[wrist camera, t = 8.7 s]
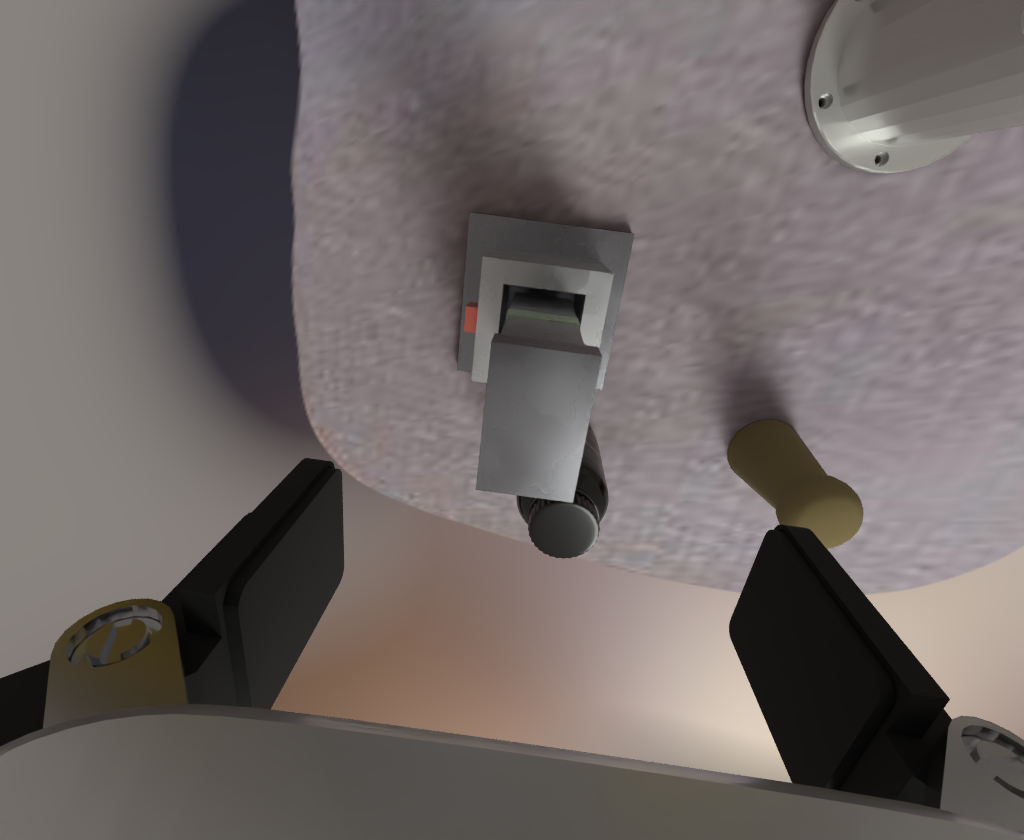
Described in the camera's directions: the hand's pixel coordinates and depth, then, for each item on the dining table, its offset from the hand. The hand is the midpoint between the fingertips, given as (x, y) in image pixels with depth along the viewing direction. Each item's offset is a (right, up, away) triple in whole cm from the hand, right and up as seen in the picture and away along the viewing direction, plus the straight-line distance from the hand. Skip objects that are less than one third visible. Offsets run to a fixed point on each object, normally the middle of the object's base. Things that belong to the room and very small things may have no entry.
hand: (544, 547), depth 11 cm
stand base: (+1, +12, +28) cm, 30 cm away
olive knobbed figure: (+21, 0, +32) cm, 38 cm away
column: (+1, +9, +21) cm, 23 cm away
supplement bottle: (+3, 0, +33) cm, 33 cm away
